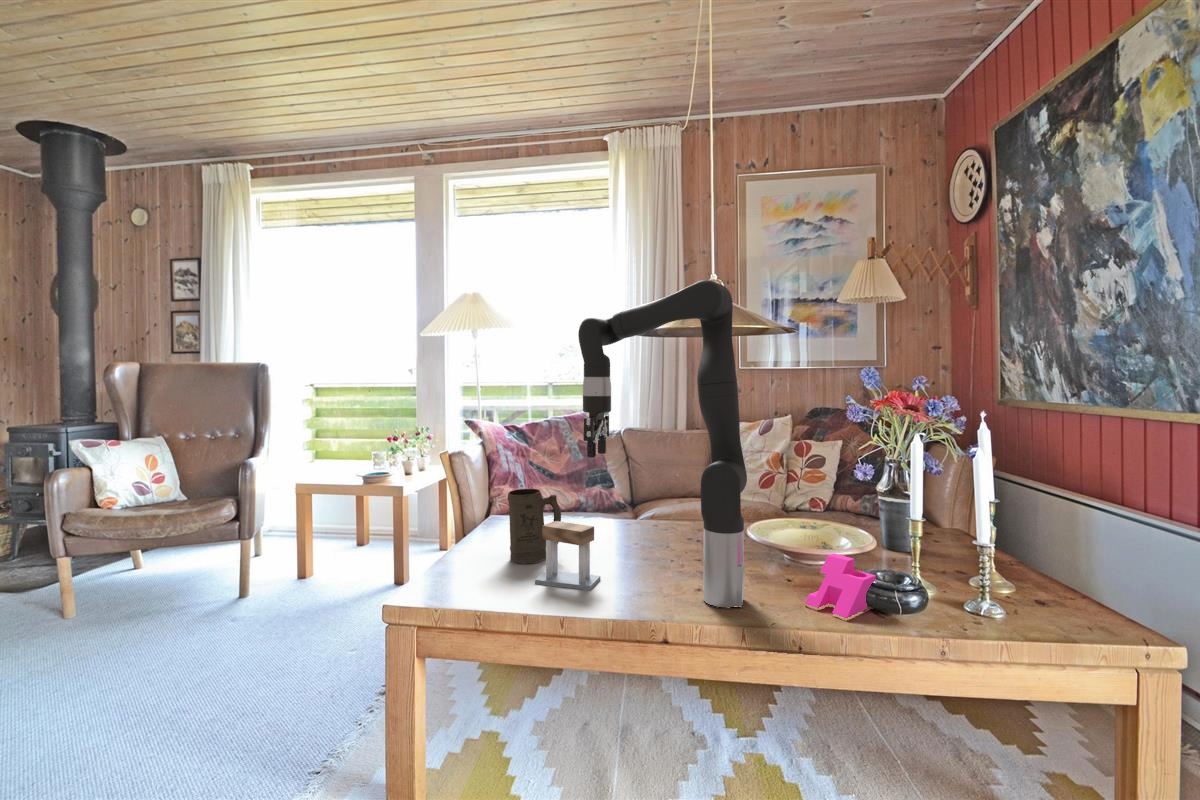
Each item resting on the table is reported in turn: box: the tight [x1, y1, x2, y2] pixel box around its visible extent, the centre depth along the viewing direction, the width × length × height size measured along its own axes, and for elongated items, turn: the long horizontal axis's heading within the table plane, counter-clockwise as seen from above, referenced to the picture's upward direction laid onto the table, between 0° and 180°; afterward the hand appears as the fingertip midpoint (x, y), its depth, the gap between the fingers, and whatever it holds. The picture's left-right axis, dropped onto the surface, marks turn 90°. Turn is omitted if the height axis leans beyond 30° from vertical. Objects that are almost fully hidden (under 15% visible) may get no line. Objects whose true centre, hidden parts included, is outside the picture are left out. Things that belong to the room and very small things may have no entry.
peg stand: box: [534, 540, 601, 591], centre depth 148 cm, size 15×8×11 cm, turn 72°
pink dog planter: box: [804, 553, 877, 618], centre depth 131 cm, size 12×10×10 cm
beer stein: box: [506, 488, 562, 564], centre depth 167 cm, size 15×11×20 cm
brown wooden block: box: [542, 520, 595, 546], centre depth 147 cm, size 12×6×4 cm, turn 60°
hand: (596, 455), depth 152 cm, fingers open, 8 cm apart
